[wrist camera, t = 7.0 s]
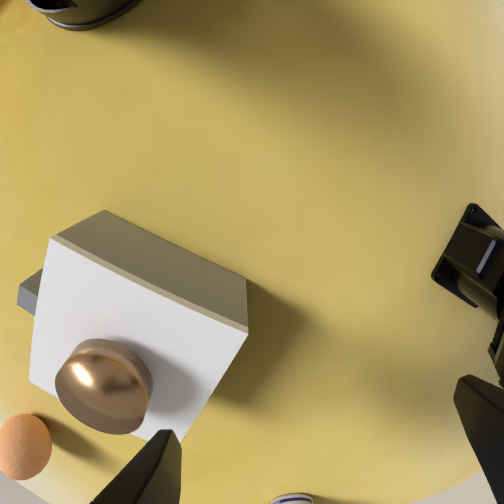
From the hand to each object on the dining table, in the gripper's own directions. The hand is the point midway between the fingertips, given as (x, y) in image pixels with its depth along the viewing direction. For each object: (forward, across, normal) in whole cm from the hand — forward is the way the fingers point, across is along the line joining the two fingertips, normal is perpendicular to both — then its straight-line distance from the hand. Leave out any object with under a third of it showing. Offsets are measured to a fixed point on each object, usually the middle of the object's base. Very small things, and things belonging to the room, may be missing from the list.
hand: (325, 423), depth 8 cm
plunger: (+12, +9, +1) cm, 15 cm away
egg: (+12, +27, +14) cm, 32 cm away
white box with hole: (+12, +9, +1) cm, 16 cm away
